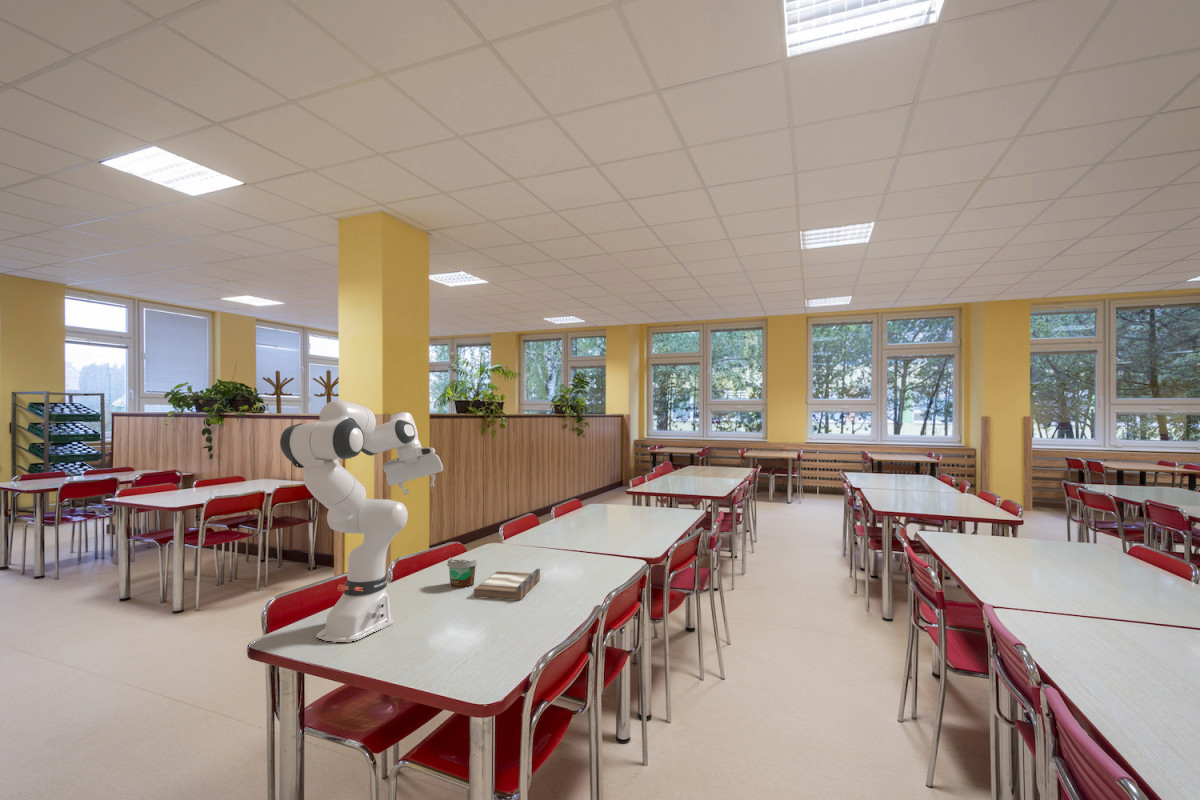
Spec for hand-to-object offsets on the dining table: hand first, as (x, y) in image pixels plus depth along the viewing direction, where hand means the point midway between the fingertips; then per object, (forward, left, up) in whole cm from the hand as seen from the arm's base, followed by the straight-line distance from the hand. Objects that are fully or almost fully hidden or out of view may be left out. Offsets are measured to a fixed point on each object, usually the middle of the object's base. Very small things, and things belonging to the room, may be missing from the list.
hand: (419, 490), depth 189 cm
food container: (+11, -11, -38) cm, 41 cm away
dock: (+12, -31, -38) cm, 50 cm away
